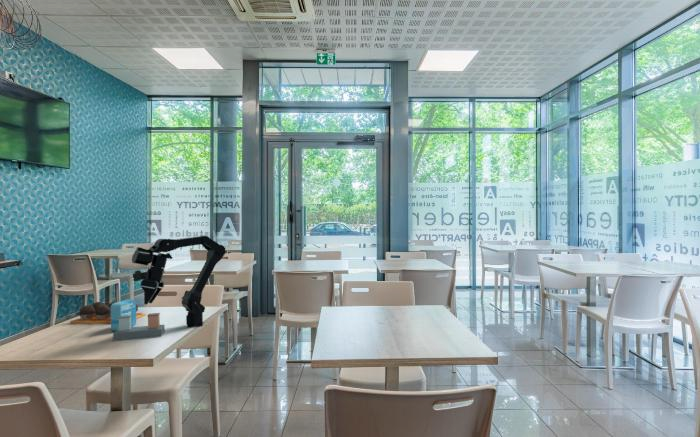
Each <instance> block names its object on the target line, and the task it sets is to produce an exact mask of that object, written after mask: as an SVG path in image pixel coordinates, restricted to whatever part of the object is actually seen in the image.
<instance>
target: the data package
mask: <svg viewBox="0 0 700 437" xmlns="http://www.w3.org/2000/svg"><path fill="white" fill-rule="evenodd" d="M116 302H117V303H113V304H112V305H111V324H110V330H111V331H113V332H115V331H116V330H117V329H118V328H119V319H118V317H119V316H123V315H131V327H135V326H136V324H137V319H136V313H137V312H136V304H137V303H136V300H135V299H123V300H120V301H116Z"/></svg>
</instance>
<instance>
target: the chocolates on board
mask: <svg viewBox="0 0 700 437" xmlns="http://www.w3.org/2000/svg"><path fill="white" fill-rule="evenodd" d="M117 302H118V301H112V302H110V303H109V304H105V303H104V302H101V301H100V302H99V301H95V302H94V303H92V305H91V304H87V305H83V306H82V307H81V308H79V312H78V316H79V318H76V319H73V320H70V321H69V324H71V325H74V324H75V325H76V324H79V325H81V324H84V325H85V324H88V325H89V324H92V325H93V324H95V325H96V324H97V325H98V324H101V325H103V324H110V325H111V305H112V304H113V303H117ZM138 307H139V305H137V303H136V320H139V319H140V318H144V317H146V316H147V315H146V314H147V313H146V312H143V313H142V312H141V313H140V312H139V313H138V311H139V308H138Z"/></svg>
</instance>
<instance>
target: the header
mask: <svg viewBox="0 0 700 437" xmlns="http://www.w3.org/2000/svg"><path fill="white" fill-rule="evenodd" d="M164 334H165V324H160V326H159V328H151V329H148V325H144V326H143V325H141V326H132V327H131V329H130V330H127V331H119V328H118V329H117V330H116V331H113V333H112V338H113V341H120V340H121V341H123V340H134V339H145V338H146V339H147V338H157V337H162V336H163V335H164Z"/></svg>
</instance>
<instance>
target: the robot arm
mask: <svg viewBox="0 0 700 437" xmlns="http://www.w3.org/2000/svg"><path fill="white" fill-rule="evenodd" d="M199 245H201V246H202V247H203V248H204V249H205V250H206V251H207V252H206V260H205V262H204V264H203V267H202V269H201V271H200V273H199V274H198V276H197V278H196V280H195V282H194V284H193V286H192V288H191V289H190V290H185V292H184V294H183V296H182V297H181V305H182V307H183V308H184V309H185V311H186V312H187V315H186V318H185V321H186V322H185V323H186V326H187V328H192V327H202V326H203V325H204V315H203V314H204V313H205V311H206V310H205V309H206V306H204V305H203V304H201V301H202V296H203V291H204V288H205V287H206V285H207V283H208V281H209V280H210V277H211V275H212V273H213V271H214V269H215V267H216V265H217V264H218V263H219V262H220V261H221V260H222V259H223V258H224V256H225V255H226V252H227V249H226V248H225V246H224V245H222V244H219V243H217V241H215V240H213V239H211V238H210V237H209V236H208V235H199V236H192V237H191V236H190V237H184V238H183V237H182V238H175V239H174V238H173V239H172V238H159V239H157V240H155V242H154V244H153V245H152V246H150V247H149V248H148V249H147V248H143V247H139V246H138V247H136V249H135V251H134V252H133V254H132V258H131V263H132V264H138V265H141V266H148V265H149V264H150V266H149V268H147V270H146V271H141V270H135V272H134V273H132V279H133V280H132V281H133V282H140V285H139V286H140V288H141V289H142V290H143V292H144V296H143V298H144V300H143V302H144V303H143V304H144V305H148V304H153V302H154V301H155V300H156V298H157V297H158V296H159V294H160V293H161V291H162V290H163V288H164V287H165V282H164V280H163V275H164V274H165V272H166V271H165V268H166V264H167V260H168V259H169V260H172V259H173V257H172V255H171V254H170V252H172V251H175V250H176V249H179V248H184V247H185V248H186V247H193V246H199Z"/></svg>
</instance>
